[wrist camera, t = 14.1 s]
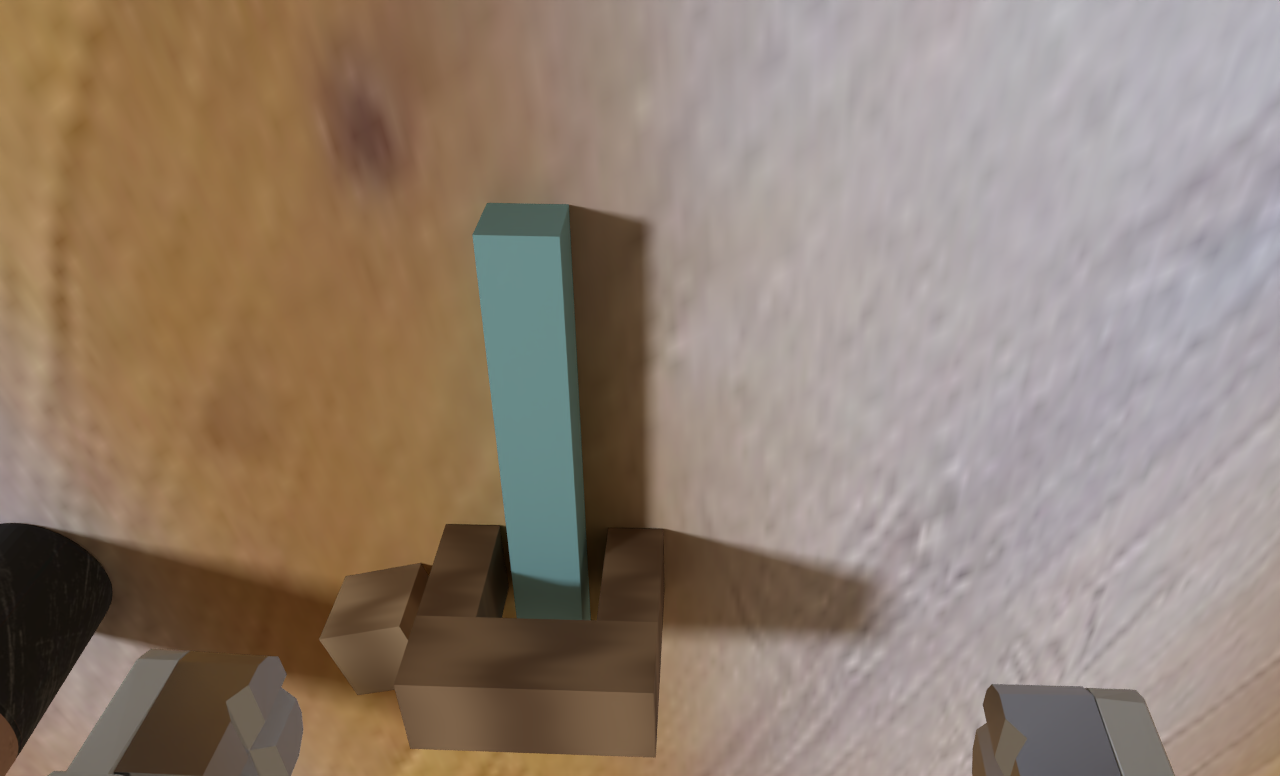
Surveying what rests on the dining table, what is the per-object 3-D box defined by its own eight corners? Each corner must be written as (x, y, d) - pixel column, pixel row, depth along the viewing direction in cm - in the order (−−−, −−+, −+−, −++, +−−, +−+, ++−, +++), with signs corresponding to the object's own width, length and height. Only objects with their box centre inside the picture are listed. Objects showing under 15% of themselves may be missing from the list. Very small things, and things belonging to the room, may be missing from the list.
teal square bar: (570, 200, 36) (559, 236, 33) (591, 614, 48) (585, 662, 46) (488, 199, 36) (472, 235, 33) (531, 612, 48) (521, 660, 46)
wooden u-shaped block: (663, 529, 44) (653, 693, 37) (664, 591, 46) (655, 757, 39) (445, 524, 45) (393, 684, 37) (457, 585, 47) (410, 748, 40)
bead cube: (421, 561, 46) (399, 626, 43) (453, 618, 49) (434, 683, 45) (346, 575, 47) (318, 639, 44) (381, 629, 49) (357, 695, 46)
